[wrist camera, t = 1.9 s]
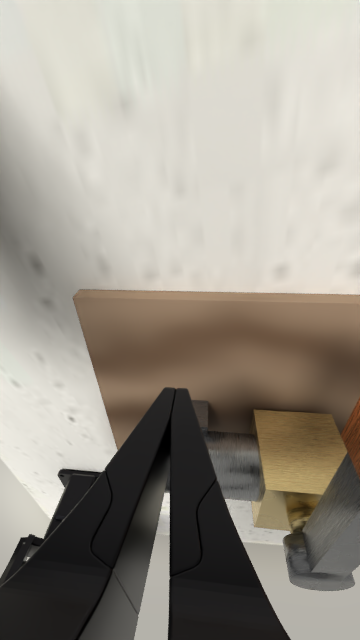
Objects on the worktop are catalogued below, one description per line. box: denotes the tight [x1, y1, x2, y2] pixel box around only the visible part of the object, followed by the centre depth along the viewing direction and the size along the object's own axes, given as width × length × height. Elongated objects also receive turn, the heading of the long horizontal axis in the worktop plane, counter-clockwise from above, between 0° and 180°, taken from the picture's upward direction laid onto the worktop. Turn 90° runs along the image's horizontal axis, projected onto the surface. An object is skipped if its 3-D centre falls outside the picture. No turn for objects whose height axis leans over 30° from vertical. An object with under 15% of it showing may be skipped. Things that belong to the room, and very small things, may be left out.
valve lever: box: [283, 397, 360, 591], centre depth 10 cm, size 16×3×2 cm, turn 2°
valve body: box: [140, 400, 348, 534], centre depth 18 cm, size 5×21×7 cm, turn 92°
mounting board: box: [73, 290, 360, 450], centre depth 21 cm, size 22×28×1 cm
